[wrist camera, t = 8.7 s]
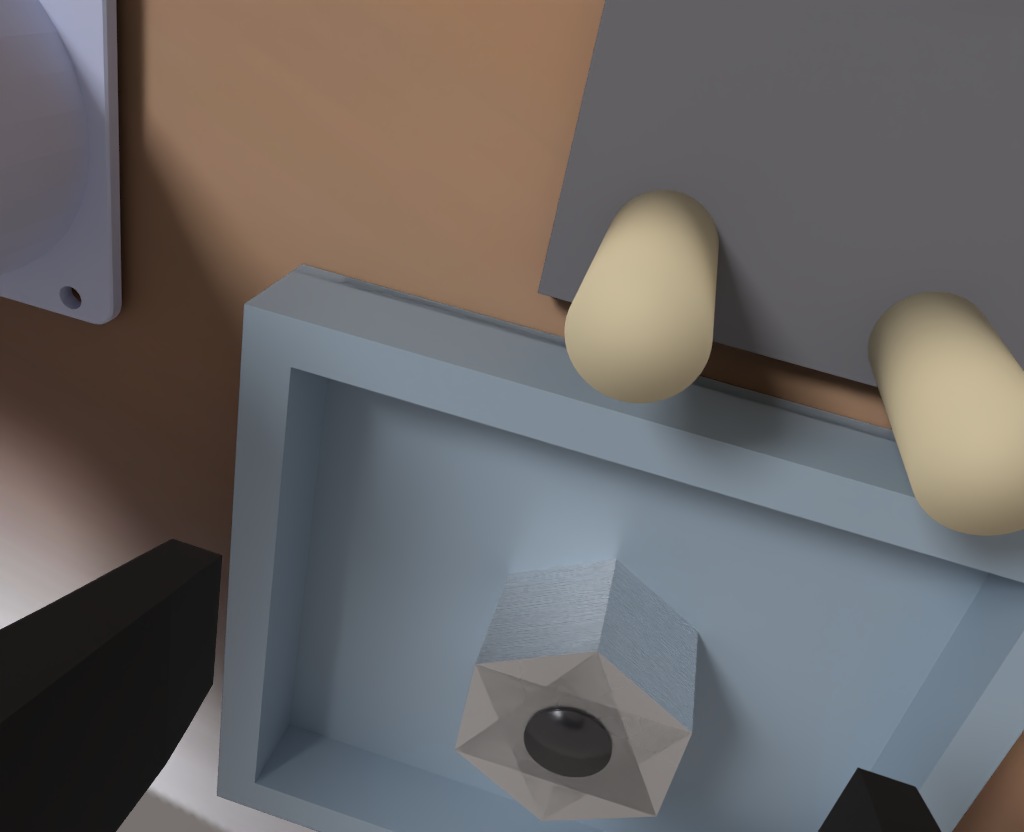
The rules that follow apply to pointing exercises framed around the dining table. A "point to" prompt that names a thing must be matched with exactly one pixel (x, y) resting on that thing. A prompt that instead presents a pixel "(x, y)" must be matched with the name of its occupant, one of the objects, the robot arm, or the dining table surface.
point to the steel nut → (581, 693)
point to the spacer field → (812, 217)
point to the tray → (574, 540)
